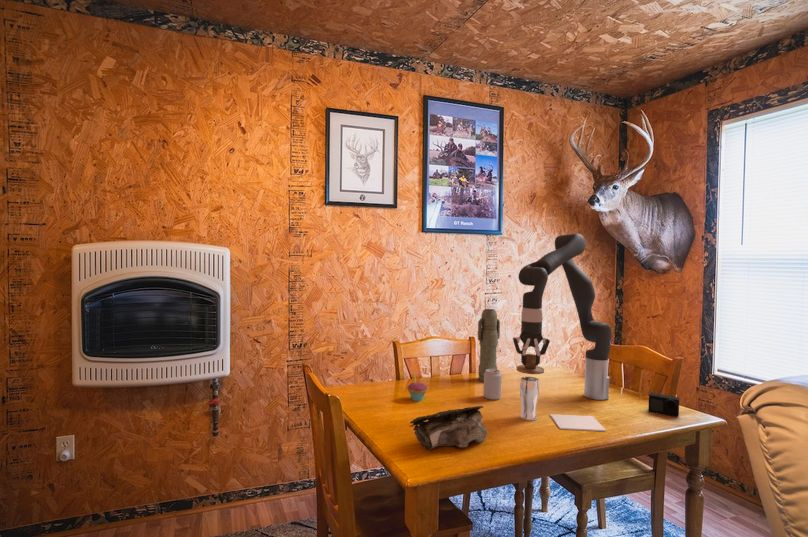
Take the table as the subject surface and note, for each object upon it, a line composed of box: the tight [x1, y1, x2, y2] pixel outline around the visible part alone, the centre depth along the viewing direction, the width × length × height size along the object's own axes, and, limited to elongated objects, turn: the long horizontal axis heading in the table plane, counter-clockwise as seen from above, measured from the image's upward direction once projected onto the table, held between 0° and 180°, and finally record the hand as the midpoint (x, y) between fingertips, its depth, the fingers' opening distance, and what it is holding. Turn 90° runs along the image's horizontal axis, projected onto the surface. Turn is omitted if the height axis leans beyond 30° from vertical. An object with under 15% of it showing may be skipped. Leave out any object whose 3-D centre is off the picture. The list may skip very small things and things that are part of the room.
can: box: [482, 368, 503, 401], centre depth 196 cm, size 8×8×12 cm
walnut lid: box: [516, 353, 545, 375], centre depth 172 cm, size 10×10×6 cm
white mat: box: [550, 413, 607, 432], centre depth 168 cm, size 16×14×1 cm
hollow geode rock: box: [409, 405, 489, 451], centre depth 145 cm, size 28×13×15 cm
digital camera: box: [647, 392, 680, 418], centre depth 181 cm, size 10×5×7 cm, turn 55°
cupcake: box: [406, 370, 428, 402], centre depth 191 cm, size 9×8×12 cm
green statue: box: [477, 308, 501, 383], centre depth 223 cm, size 9×12×35 cm
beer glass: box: [519, 376, 540, 422], centre depth 172 cm, size 7×7×15 cm
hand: (530, 364), depth 172 cm, fingers closed on walnut lid, 4 cm apart
